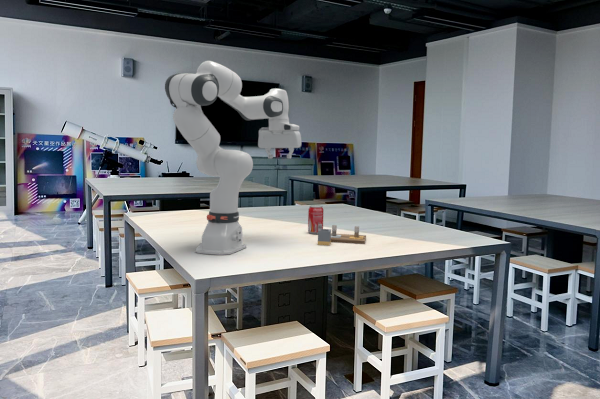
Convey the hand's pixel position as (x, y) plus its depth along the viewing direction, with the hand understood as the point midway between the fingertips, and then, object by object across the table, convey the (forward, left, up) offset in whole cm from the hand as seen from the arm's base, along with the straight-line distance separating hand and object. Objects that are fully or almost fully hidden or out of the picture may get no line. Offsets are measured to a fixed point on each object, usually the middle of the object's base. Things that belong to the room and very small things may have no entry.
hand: (279, 158), depth 219 cm
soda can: (+16, -15, -36) cm, 42 cm away
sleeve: (-8, -22, -35) cm, 42 cm away
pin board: (+4, -30, -35) cm, 46 cm away
